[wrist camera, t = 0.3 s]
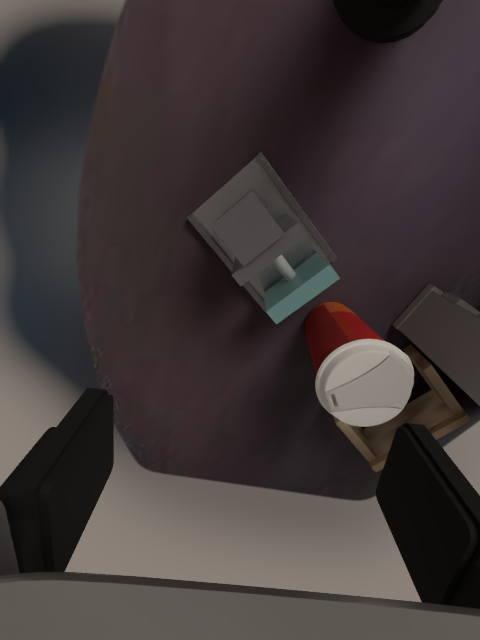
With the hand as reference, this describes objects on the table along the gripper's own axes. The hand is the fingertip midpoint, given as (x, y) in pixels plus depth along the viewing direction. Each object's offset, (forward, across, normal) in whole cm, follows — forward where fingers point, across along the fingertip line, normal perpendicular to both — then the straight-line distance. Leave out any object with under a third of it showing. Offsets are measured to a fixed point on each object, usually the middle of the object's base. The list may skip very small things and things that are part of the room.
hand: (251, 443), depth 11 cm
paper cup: (+28, -10, +5) cm, 30 cm away
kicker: (+27, -2, -3) cm, 27 cm away
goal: (+28, -19, +14) cm, 36 cm away
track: (+28, -1, -3) cm, 28 cm away
